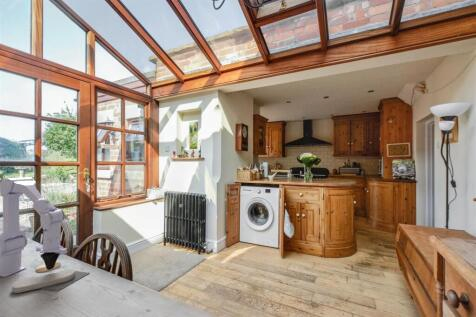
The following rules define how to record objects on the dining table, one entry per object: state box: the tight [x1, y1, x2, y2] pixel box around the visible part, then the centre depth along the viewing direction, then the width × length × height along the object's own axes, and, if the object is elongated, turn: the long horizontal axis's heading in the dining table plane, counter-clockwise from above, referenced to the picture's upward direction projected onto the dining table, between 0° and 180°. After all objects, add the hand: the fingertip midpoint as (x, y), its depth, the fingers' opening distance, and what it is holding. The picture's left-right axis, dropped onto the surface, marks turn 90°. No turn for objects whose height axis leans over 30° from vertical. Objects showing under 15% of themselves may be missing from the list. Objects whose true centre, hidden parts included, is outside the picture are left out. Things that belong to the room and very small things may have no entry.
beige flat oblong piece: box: [11, 268, 76, 294], centre depth 86 cm, size 20×2×8 cm
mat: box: [37, 270, 90, 292], centre depth 89 cm, size 12×14×1 cm
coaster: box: [34, 261, 61, 273], centre depth 99 cm, size 9×9×1 cm
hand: (50, 268), depth 90 cm, fingers closed
